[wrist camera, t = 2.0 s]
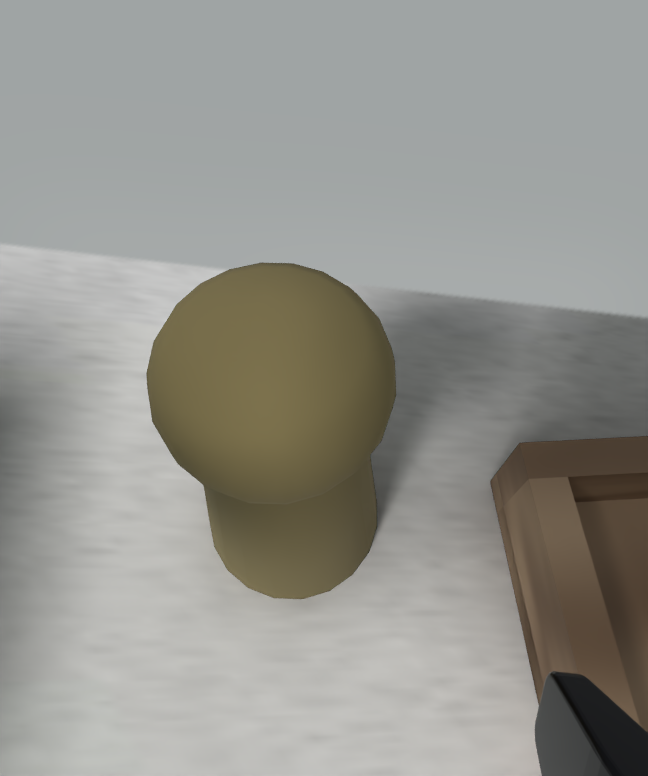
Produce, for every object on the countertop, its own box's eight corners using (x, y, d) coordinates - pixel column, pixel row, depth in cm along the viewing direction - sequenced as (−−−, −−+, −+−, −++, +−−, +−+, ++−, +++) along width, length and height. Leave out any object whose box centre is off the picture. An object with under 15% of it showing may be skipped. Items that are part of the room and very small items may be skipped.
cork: (333, 411, 22) (341, 185, 12) (408, 551, 19) (494, 401, 10) (187, 472, 20) (69, 273, 11) (245, 632, 18) (155, 552, 8)
